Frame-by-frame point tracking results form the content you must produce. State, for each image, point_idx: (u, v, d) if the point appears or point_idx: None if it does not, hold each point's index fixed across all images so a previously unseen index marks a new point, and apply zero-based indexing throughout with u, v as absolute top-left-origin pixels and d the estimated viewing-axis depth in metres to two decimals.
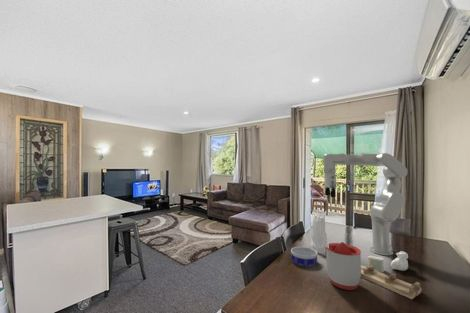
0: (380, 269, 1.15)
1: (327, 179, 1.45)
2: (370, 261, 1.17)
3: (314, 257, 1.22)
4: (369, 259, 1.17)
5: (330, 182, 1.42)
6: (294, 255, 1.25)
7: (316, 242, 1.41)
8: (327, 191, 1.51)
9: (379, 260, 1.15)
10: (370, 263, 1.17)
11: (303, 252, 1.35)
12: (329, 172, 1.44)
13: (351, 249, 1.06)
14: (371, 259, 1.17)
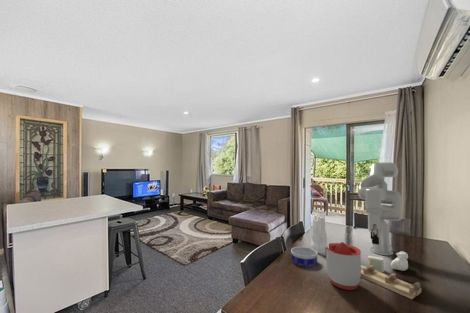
0: (380, 269, 1.15)
1: None
2: (370, 261, 1.17)
3: (314, 257, 1.22)
4: (369, 259, 1.17)
5: None
6: (294, 255, 1.25)
7: (316, 242, 1.41)
8: None
9: (379, 260, 1.15)
10: (370, 263, 1.17)
11: (303, 252, 1.35)
12: None
13: (351, 249, 1.06)
14: (371, 259, 1.17)
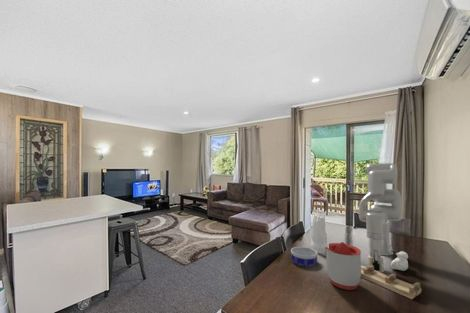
0: (380, 269, 1.15)
1: None
2: (370, 261, 1.17)
3: (314, 257, 1.22)
4: (369, 259, 1.17)
5: None
6: (294, 255, 1.25)
7: (316, 242, 1.41)
8: None
9: (379, 260, 1.15)
10: (370, 263, 1.17)
11: (303, 252, 1.35)
12: None
13: (351, 249, 1.06)
14: (371, 259, 1.17)
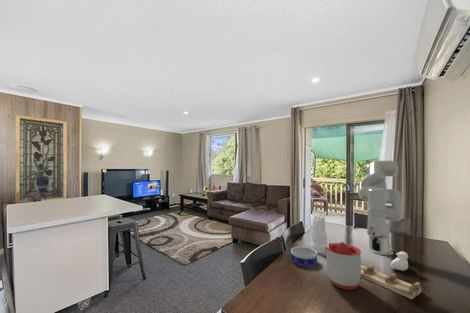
0: (380, 249, 1.04)
1: (384, 224, 1.06)
2: (371, 240, 1.08)
3: (314, 257, 1.22)
4: None
5: None
6: (294, 255, 1.25)
7: (316, 242, 1.41)
8: None
9: (380, 240, 1.04)
10: (371, 242, 1.08)
11: (303, 252, 1.35)
12: None
13: (351, 249, 1.06)
14: None
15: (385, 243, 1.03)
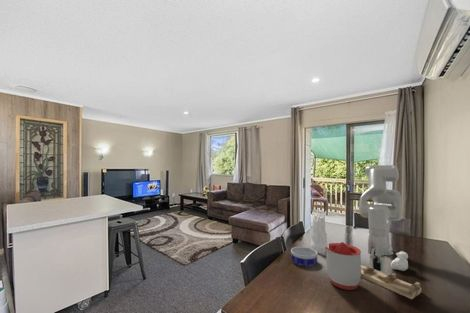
0: (381, 269, 1.03)
1: (385, 243, 1.06)
2: None
3: (314, 257, 1.22)
4: None
5: None
6: (294, 255, 1.25)
7: (316, 242, 1.41)
8: None
9: (381, 260, 1.04)
10: (371, 261, 1.07)
11: (303, 252, 1.35)
12: None
13: (351, 249, 1.06)
14: None
15: (386, 263, 1.03)
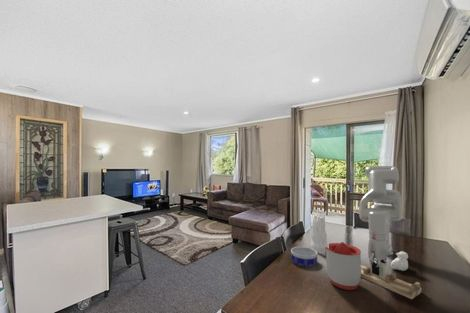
0: (382, 276, 1.03)
1: (385, 247, 1.05)
2: None
3: (314, 257, 1.22)
4: None
5: None
6: (294, 255, 1.25)
7: (316, 242, 1.41)
8: None
9: (381, 266, 1.04)
10: None
11: (303, 252, 1.35)
12: None
13: (351, 249, 1.06)
14: None
15: (386, 269, 1.03)
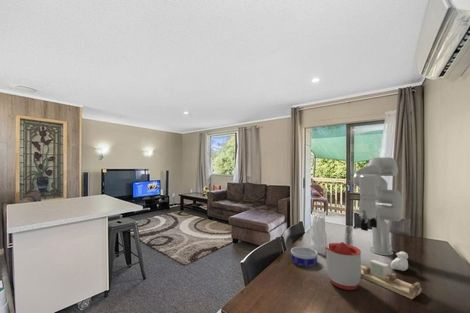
0: (382, 276, 1.03)
1: (374, 207, 1.15)
2: (372, 265, 1.07)
3: (314, 257, 1.22)
4: (371, 263, 1.08)
5: None
6: (294, 255, 1.25)
7: (316, 242, 1.41)
8: None
9: (381, 266, 1.04)
10: (372, 267, 1.07)
11: (303, 252, 1.35)
12: None
13: (351, 249, 1.06)
14: (373, 263, 1.07)
15: (386, 269, 1.03)
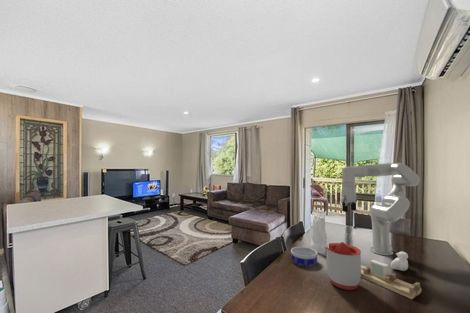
0: (382, 276, 1.03)
1: (354, 193, 1.39)
2: (372, 265, 1.07)
3: (314, 257, 1.22)
4: (371, 263, 1.08)
5: None
6: (294, 255, 1.25)
7: (316, 242, 1.41)
8: None
9: (381, 266, 1.04)
10: (372, 267, 1.07)
11: (303, 252, 1.35)
12: None
13: (351, 249, 1.06)
14: (373, 263, 1.07)
15: (386, 269, 1.03)
